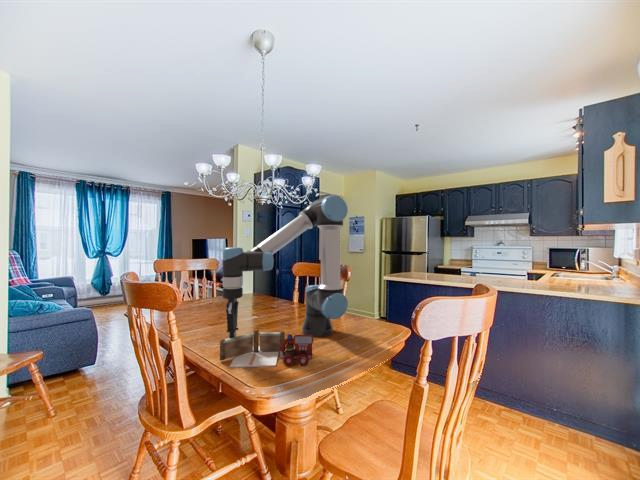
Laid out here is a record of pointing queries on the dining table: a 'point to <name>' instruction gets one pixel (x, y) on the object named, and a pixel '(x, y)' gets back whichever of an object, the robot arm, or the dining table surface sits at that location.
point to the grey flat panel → (236, 346)
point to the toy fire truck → (297, 349)
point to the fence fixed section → (268, 340)
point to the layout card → (256, 359)
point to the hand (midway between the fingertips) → (232, 347)
